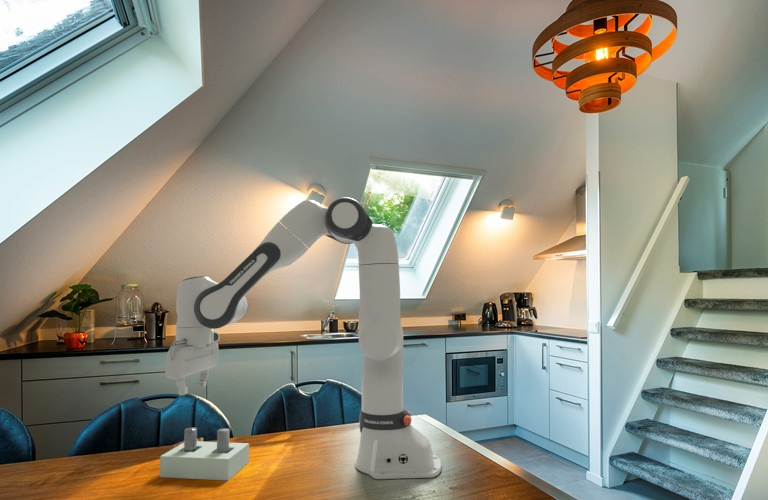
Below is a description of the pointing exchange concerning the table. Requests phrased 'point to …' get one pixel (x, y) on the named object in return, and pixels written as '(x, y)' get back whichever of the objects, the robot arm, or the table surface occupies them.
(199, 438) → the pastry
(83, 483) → the table surface
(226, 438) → the hole block
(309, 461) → the table surface
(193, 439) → the peg
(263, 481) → the table surface
